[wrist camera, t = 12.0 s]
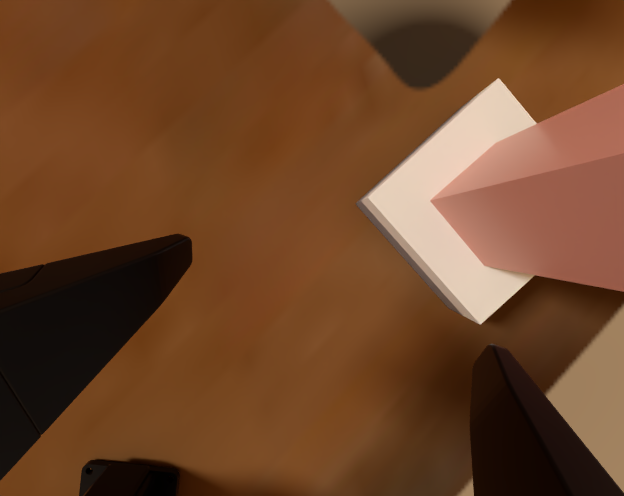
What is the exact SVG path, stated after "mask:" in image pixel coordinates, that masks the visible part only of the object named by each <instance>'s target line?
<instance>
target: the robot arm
mask: <svg viewBox="0 0 624 496" xmlns="http://www.w3.org/2000/svg"><path fill="white" fill-rule="evenodd" d="M191 263H192V241H191V239H190V238H189V237H187V236H184V235H181V234H173V235H169V236H165V237H160V238H156V239H152V240H147V241H143V242H138V243H134V244H130V245H125V246H121V247H117V248H112V249H108V250H103V251H99V252H95V253H90V254H86V255H81V256H77V257H73V258H68V259H64V260H60V261H55V262H51V263H47V264H45V265H43V264H42V265H37V266H33V267H29V268H24V269H20V270H15V271H10V272H6V273H1V274H0V480H1V479H2V478H3V477H4V476H5V475H6V474H7V473H8V472H9V471H10V470H11V468H12V467H13V466H14V465H15V464H16V463H17V462H18V461H19V460H20V459H21V458H22V456H23V455H24V454H25V453H26V452H27V451H28V450H29V449H30V448H31V447H32V446H33V444H34V443H35V442H36V441H37V440H38V439H39V438H40V437H41V435H42V434H43V433H44V432H45V431H46V430H47V429H48V428H49V427H50V426H51V424H52V423H53V422H54V421H55V420H56V419H57V418H58V417H59V416H60V415H61V414H62V412H63V411H64V410H65V409H66V408H67V407H68V406H69V405H70V404H71V403H72V402H73V400H74V399H75V398H76V397H77V396H78V395H79V394H80V393H81V392H82V391H83V390H84V388H85V387H86V386H87V385H88V384H89V383H90V382H91V381H92V380H93V379H94V378H95V376H96V375H97V374H98V373H99V372H100V371H101V370H102V369H103V368H104V367H105V365H106V364H107V363H108V362H109V361H110V360H111V359H112V358H113V357H114V356H115V355H116V353H117V352H118V351H119V350H120V349H121V348H122V347H123V346H124V345H125V344H126V343H127V341H128V340H129V339H130V338H131V337H132V336H133V335H134V334H135V333H136V332H137V331H138V329H139V328H140V327H141V326H142V325H143V324H144V323H145V322H146V321H147V320H148V319H149V317H150V316H151V315H152V314H153V313H154V312H155V311H156V310H157V309H158V308H159V306H160V305H161V304H162V303H163V302H164V300H165V299H166V298H167V297H168V295H169V294H170V293H171V291H172V290H173V288H174V287H175V286H176V284H177V283H178V282H179V280H180V279H181V278H182V276H183V275H184V274H185V272H186V271H187V269H188V268H189V267H190V265H191ZM470 440H471V456H472V471H473V487H474V496H624V493H623V491H622V490H621V489H620V488H619V486H618V485H617V484H616V483H615V482H614V480H613V479H612V478H611V477H610V475H609V474H608V473H607V472H606V470H605V469H604V468H603V467H602V466H601V464H600V463H599V462H598V460H597V459H596V458H595V457H594V456H593V454H592V453H591V452H590V451H589V449H588V448H587V447H586V446H585V445H584V443H583V442H582V441H581V439H580V438H579V437H578V436H577V435H576V433H575V432H574V431H573V430H572V428H571V427H570V426H569V425H568V423H567V422H566V421H565V420H564V419H563V417H562V416H561V415H560V414H559V412H558V411H557V410H556V409H555V407H554V406H553V405H552V404H551V402H550V401H549V400H548V399H547V397H546V396H545V395H544V394H543V392H542V391H541V390H540V389H539V388H538V386H537V385H536V384H535V383H534V381H533V380H532V379H531V378H530V376H529V375H528V374H527V373H526V371H525V370H524V369H523V368H522V366H521V365H520V364H519V363H518V362H517V360H516V359H515V358H514V357H513V355H512V354H511V353H510V352H509V351H508V350H507V349H506V348H503V347H500V346H497V345H495V344H489V345H488V346H487V347H486V348H485V349H484V351H483V352H482V353H481V355H480V356H479V357H478V359H477V360H476V361H475V363H474V366H473V370H472V388H471V406H470ZM90 468H92V469H93V470H91V469H90ZM169 476H172V477H173V478H170V477H169ZM179 477H180V474H179V471H178V470H177V469H174V468H167V467H157V466H147V465H138V464H128V463H118V462H108V461H99V460H90V461H88V462H87V464H86V465H85V466H84V467H83V468H82V473H81V483H80V492H79V496H177V494H178V485H179Z"/></svg>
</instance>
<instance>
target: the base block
mask: <svg viewBox="0 0 624 496" xmlns="http://www.w3.org/2000/svg"><path fill="white" fill-rule="evenodd" d="M533 125H536V122H535V121H534V120H533V119H532V118H531V116H530V115H529V114H528V113H527V112H526V110H525V109H524V108H523V107H522V106H521V104H520V103H519V102H518V101H517V99H516V98H515V97H514V96H513V95H512V93H511V92H510V91H509V90H508V89H507V87H506V86H505V85H504V84H503V83H502V81H501V80H500V79H499V78H498V79H497V80H495V81H494V82H493V83H492V84H490V85H489V86H488V87H486V88H485V89H484V90H483V91H481V92H480V93H479V94H477V95H476V96H475V97H474V98H472V99H471V100H470V101H469V102H467V103H466V104H465V105H463V106H462V107H461V108H460V109H459V110H458V111H457V112H456V113H454V114H453V115H452V116H451V117H450V118H449V119H448V120H447V121H446V122H445V123H444V124H442V125H441V126H440V127H439V128H438V129H437V130H436V131H435V132H434V133H433V134H431V135H430V136H429V137H428V138H427V139H426V140H425V141H424V142H423V143H422V144H420V145H419V146H418V147H417V148H416V149H415V150H414V151H413V152H412V153H411V154H409V155H408V156H407V157H406V158H405V159H404V160H403V161H402V162H401V163H400V164H399V165H397V166H396V167H395V168H394V169H393V170H392V171H391V172H390V173H389V174H388V175H386V176H385V177H384V178H383V179H382V180H381V181H380V182H379V183H378V184H377V185H375V186H374V187H373V188H372V189H371V190H370V191H369V192H368V193H367V194H366V195H364V196H363V197H362V198H361V199H360V200H359V201H358V202H357V203H356V205H357V206H358V207H359V208H360V209H361V210H362V212H363V213H364V214H365V215H366V216H367V217H368V218H369V219H370V221H371V222H372V223H373V224H374V225H375V226H376V227H377V228H378V230H379V231H380V232H381V233H382V234H383V235H384V236H385V237H386V239H387V240H388V241H389V242H390V243H391V244H392V245H393V246H394V248H395V249H396V250H397V251H398V252H399V253H400V254H401V255H402V257H403V258H404V259H405V260H406V261H407V262H408V263H409V264H410V265H411V267H412V268H413V269H414V270H415V271H416V272H417V273H418V274H419V276H420V277H421V278H422V279H423V280H424V281H425V282H426V283H427V285H428V286H429V287H430V288H431V289H432V290H433V291H434V292H435V294H436V295H437V296H438V297H439V298H440V299H441V300H442V301H443V303H444V304H445V305H446V306H447V307H448V308H449V309H451V310H453V311H455V312H457V313H459V314H461V315H463V316H465V317H467V318H468V319H470V320H472V321H474V322H476V323H478V324H482V323H483V322H484V321H485V320H486V319H487V318H488V317H489V316H490V315H492V314H493V313H494V312H495V311H496V310H497V309H498V308H499V307H500V306H502V305H503V304H504V303H505V302H506V301H507V300H508V299H509V298H510V297H512V296H513V295H514V294H515V293H516V292H517V291H518V290H519V289H520V288H522V287H523V286H524V285H525V284H526V283H527V282H528V281H529V280H530V279H531V278H533V277H534V276H535V275H531V274H526V273H520V272H515V271H510V270H504V269H499V268H493V267H488V266H484V265H483V264H482V262H481V261H480V260H479V259H478V258H477V256H476V255H475V254H474V253H473V252H472V251H471V249H470V248H469V247H468V246H467V245H466V243H465V242H464V241H463V240H462V239H461V237H460V236H459V235H458V234H457V233H456V231H455V230H454V229H453V228H452V227H451V225H450V224H449V223H448V222H447V221H446V219H445V218H444V217H443V216H442V215H441V213H440V212H439V211H438V210H437V209H436V207H435V206H434V205H433V204H432V203H431V202H430V200H431V199H432V198H433V197H434V196H435V195H437V194H438V193H439V192H440V191H441V190H442V189H443V188H445V187H446V186H447V185H448V184H449V183H450V182H451V181H453V180H454V179H455V178H456V177H457V176H458V175H459V174H461V173H462V172H463V171H464V170H465V169H466V168H467V167H469V166H470V165H471V164H472V163H473V162H474V161H475V160H477V159H478V158H479V157H480V156H481V155H482V154H483V153H485V152H486V151H487V150H488V149H489V148H490V147H491V146H493V145H494V144H495V143H496V142H498V141H501V140H503V139H505V138H507V137H509V136H512V135H514V134H516V133H518V132H520V131H522V130H525V129H527V128H529V127H531V126H533Z"/></svg>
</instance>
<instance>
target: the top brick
mask: <svg viewBox="0 0 624 496" xmlns="http://www.w3.org/2000/svg"><path fill="white" fill-rule="evenodd" d="M430 202H431V203H432V204H433V205H434V206H435V207H436V209H437V210H438V211H439V212H440V213H441V215H442V216H443V217H444V218H445V219H446V221H447V222H448V223H449V224H450V225H451V227H452V228H453V229H454V230H455V231H456V233H457V234H458V235H459V236H460V237H461V239H462V240H463V241H464V242H465V243H466V245H467V246H468V247H469V248H470V249H471V251H472V252H473V253H474V254H475V255H476V256H477V258H478V259H479V260H480V261H481V262H482V264H483V265H484V266H488V267H493V268H499V269H504V270H510V271H515V272H520V273H526V274H531V275H537V276H542V277H547V278H553V279H558V280H563V281H569V282H574V283H580V284H585V285H590V286H596V287H601V288H607V289H612V290H617V291H623V292H624V84H623V85H621V86H619V87H616V88H614V89H612V90H610V91H608V92H605V93H603V94H601V95H599V96H597V97H594V98H592V99H590V100H588V101H586V102H584V103H581V104H579V105H577V106H575V107H573V108H570V109H568V110H566V111H564V112H562V113H560V114H557V115H555V116H553V117H551V118H549V119H546V120H544V121H542V122H540V123H538V124H536V125H533V126H531V127H529V128H527V129H525V130H522V131H520V132H518V133H516V134H514V135H512V136H509V137H507V138H505V139H503V140H501V141H498V142H496V143H495V144H494V145H493V146H491V147H490V148H489V149H488V150H487V151H486V152H485V153H483V154H482V155H481V156H480V157H479V158H478V159H477V160H475V161H474V162H473V163H472V164H471V165H470V166H469V167H467V168H466V169H465V170H464V171H463V172H462V173H461V174H459V175H458V176H457V177H456V178H455V179H454V180H453V181H451V182H450V183H449V184H448V185H447V186H446V187H445V188H443V189H442V190H441V191H440V192H439V193H438V194H437V195H435V196H434V197H433V198H432V199H431V200H430Z"/></svg>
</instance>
